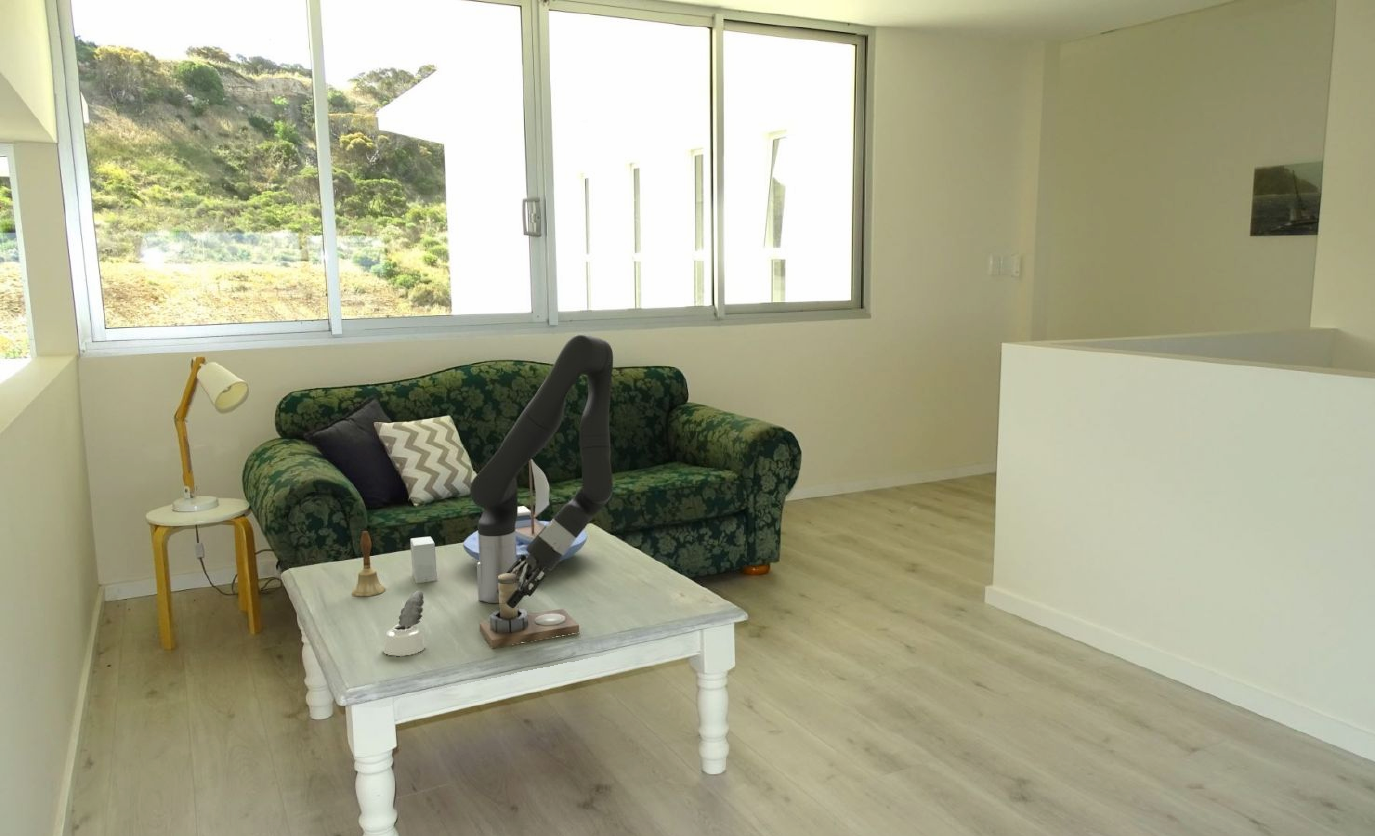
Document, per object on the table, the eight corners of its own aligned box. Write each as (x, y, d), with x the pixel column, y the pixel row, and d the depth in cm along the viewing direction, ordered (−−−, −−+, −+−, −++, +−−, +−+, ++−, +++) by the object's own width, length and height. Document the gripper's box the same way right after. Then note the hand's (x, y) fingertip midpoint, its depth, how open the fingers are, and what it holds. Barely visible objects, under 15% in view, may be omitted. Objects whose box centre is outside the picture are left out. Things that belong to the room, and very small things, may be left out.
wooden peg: (497, 629, 221) (495, 578, 219) (503, 623, 225) (501, 572, 223) (515, 630, 220) (512, 579, 218) (521, 624, 224) (518, 573, 222)
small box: (437, 581, 263) (435, 543, 261) (415, 584, 261) (413, 545, 259) (433, 572, 270) (431, 535, 268) (412, 575, 268) (410, 538, 266)
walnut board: (492, 648, 215) (491, 640, 215) (479, 630, 226) (479, 622, 226) (579, 633, 223) (579, 624, 223) (563, 616, 234) (562, 608, 234)
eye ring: (486, 632, 219) (485, 619, 219) (498, 620, 227) (498, 607, 226) (520, 634, 218) (520, 621, 217) (532, 621, 226) (531, 609, 225)
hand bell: (349, 589, 257) (345, 530, 255) (382, 584, 261) (378, 526, 258) (354, 598, 250) (350, 537, 247) (388, 593, 253) (384, 533, 251)
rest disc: (530, 624, 223) (530, 623, 223) (540, 614, 230) (540, 613, 230) (560, 626, 222) (560, 625, 222) (568, 615, 229) (568, 614, 229)
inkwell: (376, 657, 212) (373, 612, 210) (402, 627, 229) (399, 585, 228) (419, 656, 211) (416, 612, 210) (441, 626, 229) (439, 585, 228)
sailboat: (480, 589, 255) (474, 467, 250) (452, 555, 287) (446, 446, 282) (605, 570, 270) (601, 454, 265) (565, 539, 301) (561, 435, 296)
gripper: (530, 527, 229) (484, 581, 226) (548, 542, 216) (500, 600, 213) (553, 546, 232) (508, 600, 229) (572, 561, 219) (524, 619, 216)
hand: (504, 600), depth 221 cm, fingers open, 8 cm apart
